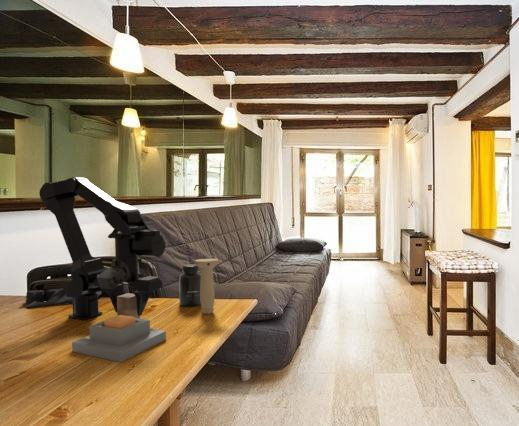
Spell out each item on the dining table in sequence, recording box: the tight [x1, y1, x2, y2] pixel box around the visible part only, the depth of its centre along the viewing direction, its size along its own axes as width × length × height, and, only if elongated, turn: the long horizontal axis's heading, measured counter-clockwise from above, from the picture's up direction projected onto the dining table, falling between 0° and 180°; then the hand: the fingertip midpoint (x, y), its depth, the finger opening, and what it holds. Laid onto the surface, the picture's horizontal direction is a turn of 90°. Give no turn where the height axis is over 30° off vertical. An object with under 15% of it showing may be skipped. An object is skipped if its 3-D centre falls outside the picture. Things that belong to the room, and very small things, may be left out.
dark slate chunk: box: [25, 288, 103, 308], centre depth 133 cm, size 15×22×5 cm
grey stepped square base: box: [71, 317, 167, 363], centre depth 91 cm, size 14×14×5 cm
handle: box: [194, 258, 219, 315], centre depth 115 cm, size 5×6×15 cm
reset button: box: [103, 315, 135, 329], centre depth 91 cm, size 5×5×3 cm
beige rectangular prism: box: [116, 292, 141, 319], centre depth 109 cm, size 4×4×7 cm
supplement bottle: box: [178, 263, 201, 308], centre depth 125 cm, size 7×7×12 cm
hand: (128, 313), depth 109 cm, fingers open, 7 cm apart
